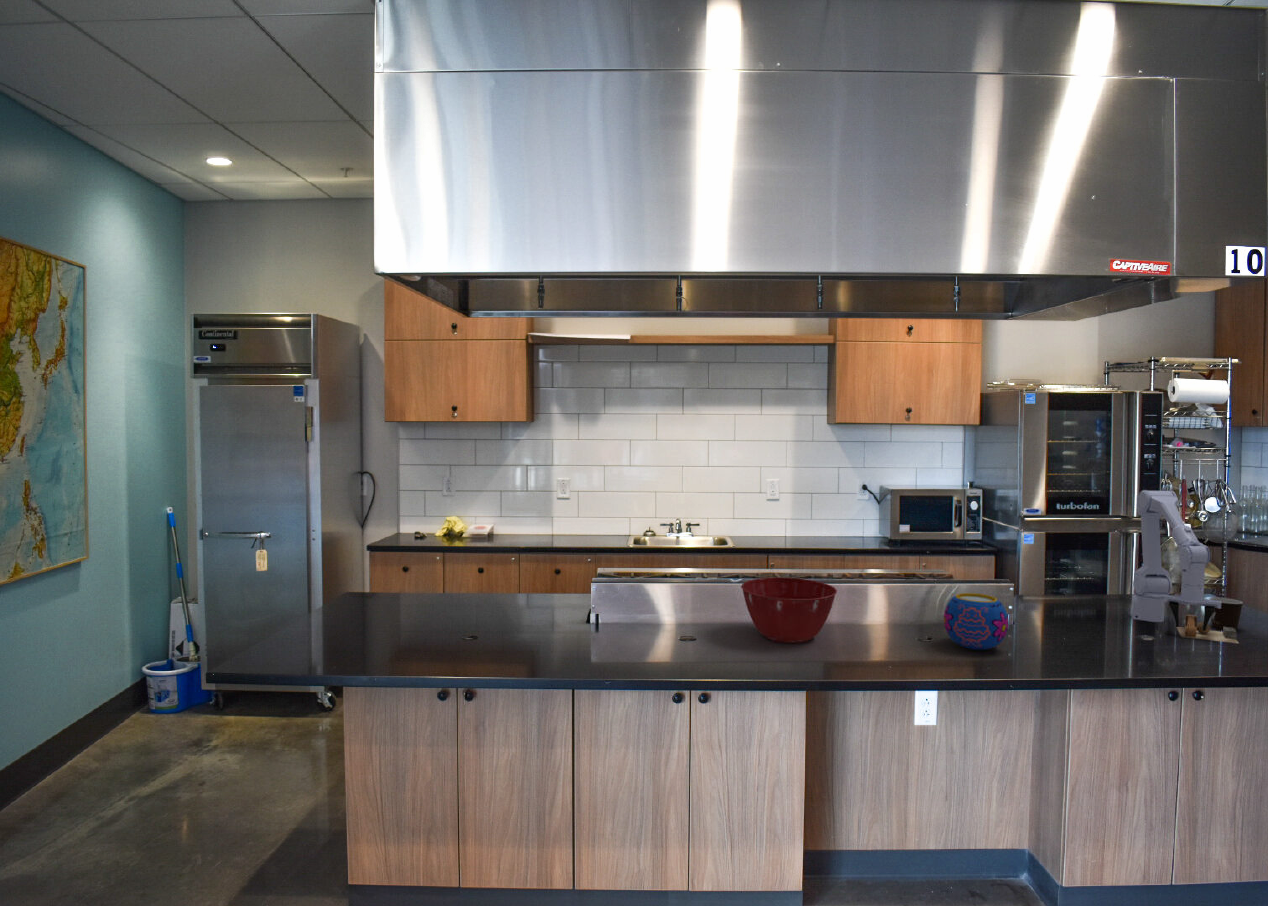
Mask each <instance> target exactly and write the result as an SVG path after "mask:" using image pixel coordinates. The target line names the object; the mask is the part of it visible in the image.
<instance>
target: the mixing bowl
mask: <svg viewBox="0 0 1268 906" xmlns="http://www.w3.org/2000/svg"><path fill="white" fill-rule="evenodd" d="M740 588H741V590H742V592H743V598H744V601H745V604H746V605H745V606H746V608H747V611H748V615H749V616H750V619H751V620H752V623H753V625H754V627H755V628H756V629H757V631H758V632H759V633H760V634H761V635H763V636H764V637H765V638H766V639H768V640H771V641H773V642H777V643H783V644H801V643H805V642H808V641H810V640H811V639H813V638H814V637H816V636H817V635H818V634H819V633H820V632H821V630H822V629H823V627H824V625H825V623H826V621H827V619H828V617H829V615H830V613H831V610H832V608H833V605H834V600H835V596H836V594H837V593H838V590H837V589H836V587H834V586H832V585H830V584H828V583H824V582H821V581H816V580H811V579H805V578H796V577H762V578H756V579H750V580H747V581H745V582H743V583H741V585H740Z"/></svg>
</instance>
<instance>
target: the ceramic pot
mask: <svg viewBox="0 0 1268 906" xmlns="http://www.w3.org/2000/svg"><path fill="white" fill-rule="evenodd" d="M1009 624H1010V623H1009V618H1008V614H1007V610H1006V608H1005V606H1004V605H1003V604H1002V602H1001V601H1000V600H999V599H998V598H997V597H995V596H992V595H986V594H982V593H973V592H972V593H971V592H964V593H958V594H955V595H954V596H952V598H950V600H949V601H948V603H947V604H946V607H945V609H944V613H943V625H944V629H945V631H946V634H947V635H948V637H949V638H950V639H951V641H953V642H955V643H956V644H957V645H959V646H960V647H964V648H966V649H969V650H974V651H983V650H989V649H993V648H995V647H997V646H998V645H1000V644H1001V643H1002V642H1003V640H1005V638H1006V635H1007V633H1008V631H1009Z"/></svg>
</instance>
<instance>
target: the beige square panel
mask: <svg viewBox="0 0 1268 906" xmlns="http://www.w3.org/2000/svg"><path fill="white" fill-rule="evenodd" d="M1176 629H1177V632H1178V633H1179V635H1180V637H1181V638H1189V639H1198V640H1205V641H1206V640H1207V641H1213V642H1214V641H1215V642H1223V643H1232V644H1240V643H1239V641H1238V640H1237V631H1238V630H1237V631H1236V630H1235V629H1234V628H1230V627H1223V630H1222V631H1220V630H1210V631H1209V632H1208V633H1206V634H1202V633H1199V632H1198V631H1197V633H1196V636H1195V637H1192V636H1187V635H1185V626H1184V627H1182V626H1179V627H1176Z"/></svg>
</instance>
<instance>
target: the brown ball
mask: <svg viewBox="0 0 1268 906" xmlns="http://www.w3.org/2000/svg"><path fill="white" fill-rule="evenodd" d="M1203 622H1204V621H1200V622H1197V631H1198V632H1199V633H1202V634H1206V633H1208V632H1209V631H1211V626H1210V625H1209V624H1207V627H1206V631H1204V630H1203Z"/></svg>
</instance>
